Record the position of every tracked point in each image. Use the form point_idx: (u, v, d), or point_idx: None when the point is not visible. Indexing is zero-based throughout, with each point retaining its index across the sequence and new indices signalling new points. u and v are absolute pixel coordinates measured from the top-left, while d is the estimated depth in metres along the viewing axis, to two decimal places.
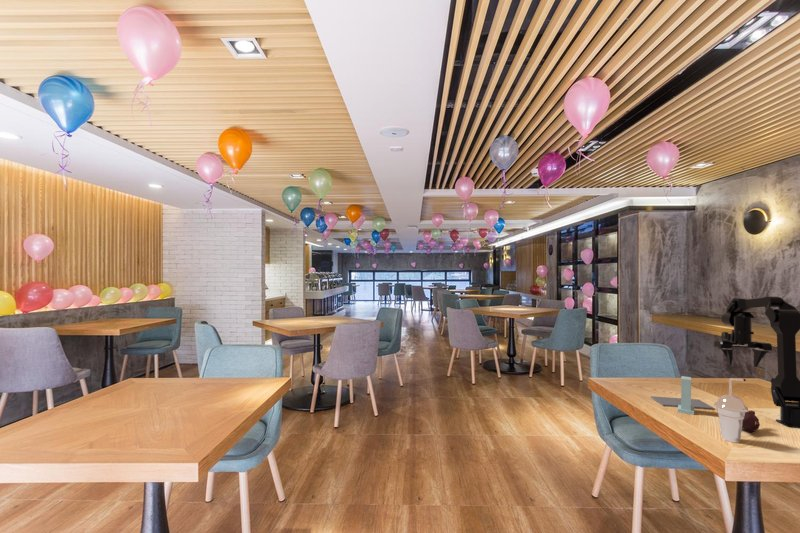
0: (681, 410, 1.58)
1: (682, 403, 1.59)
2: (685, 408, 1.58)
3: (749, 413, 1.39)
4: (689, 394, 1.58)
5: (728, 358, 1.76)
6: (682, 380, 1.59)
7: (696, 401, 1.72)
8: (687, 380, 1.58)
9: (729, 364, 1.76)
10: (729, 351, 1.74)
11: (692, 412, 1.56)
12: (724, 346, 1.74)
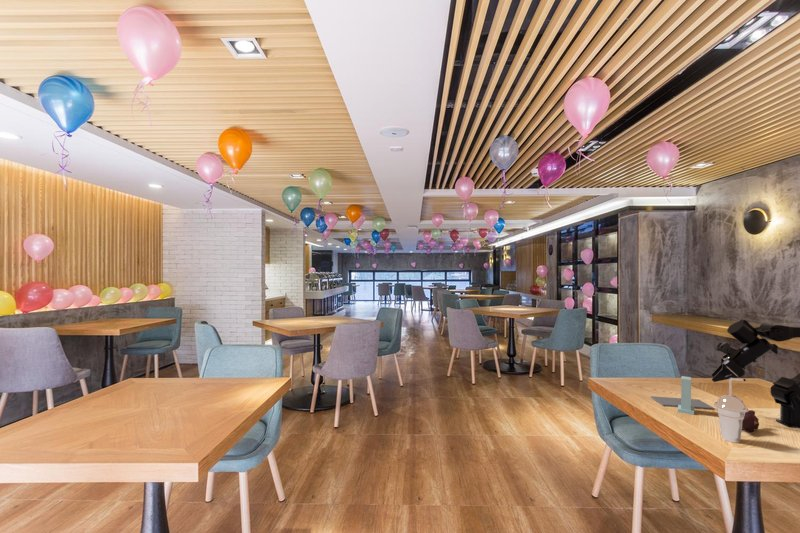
0: (681, 410, 1.58)
1: (682, 403, 1.59)
2: (685, 408, 1.58)
3: (749, 413, 1.40)
4: (689, 394, 1.58)
5: (722, 378, 1.50)
6: (682, 380, 1.59)
7: (696, 401, 1.72)
8: (687, 380, 1.58)
9: (714, 380, 1.52)
10: (735, 377, 1.48)
11: (692, 412, 1.56)
12: (741, 375, 1.45)
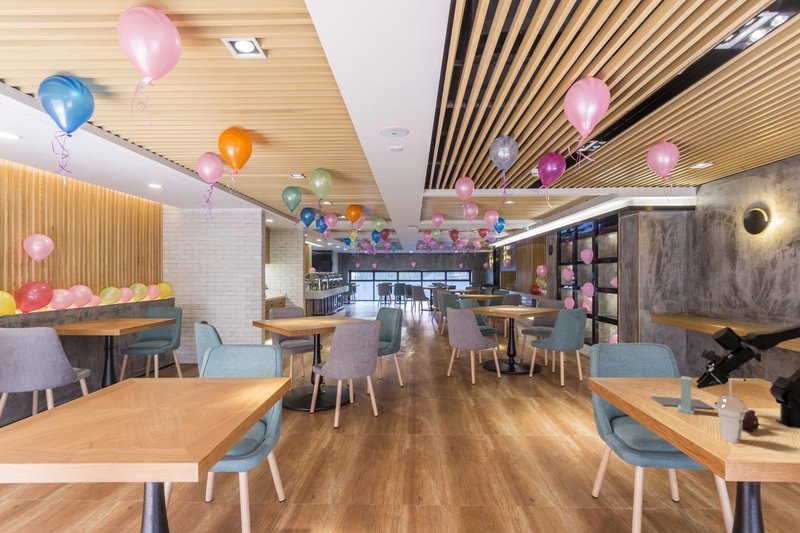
0: (681, 410, 1.58)
1: (682, 403, 1.59)
2: (685, 408, 1.58)
3: (748, 412, 1.40)
4: (689, 394, 1.58)
5: (706, 385, 1.52)
6: (682, 380, 1.59)
7: (696, 401, 1.72)
8: (687, 380, 1.58)
9: (698, 387, 1.54)
10: (719, 384, 1.50)
11: (692, 412, 1.56)
12: None
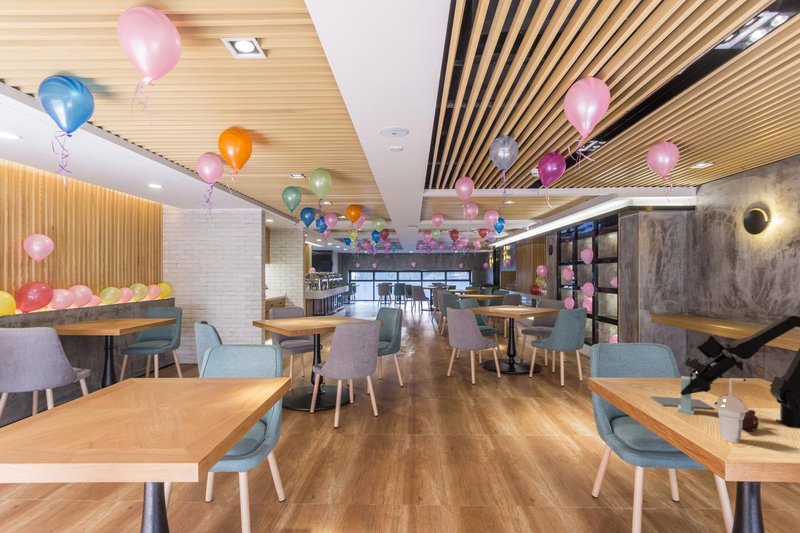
0: (681, 410, 1.58)
1: (682, 403, 1.59)
2: (685, 408, 1.58)
3: (748, 412, 1.40)
4: (689, 394, 1.58)
5: (690, 391, 1.56)
6: (682, 380, 1.59)
7: (696, 401, 1.72)
8: (687, 380, 1.58)
9: (682, 393, 1.58)
10: (702, 391, 1.54)
11: (692, 412, 1.56)
12: (707, 390, 1.50)
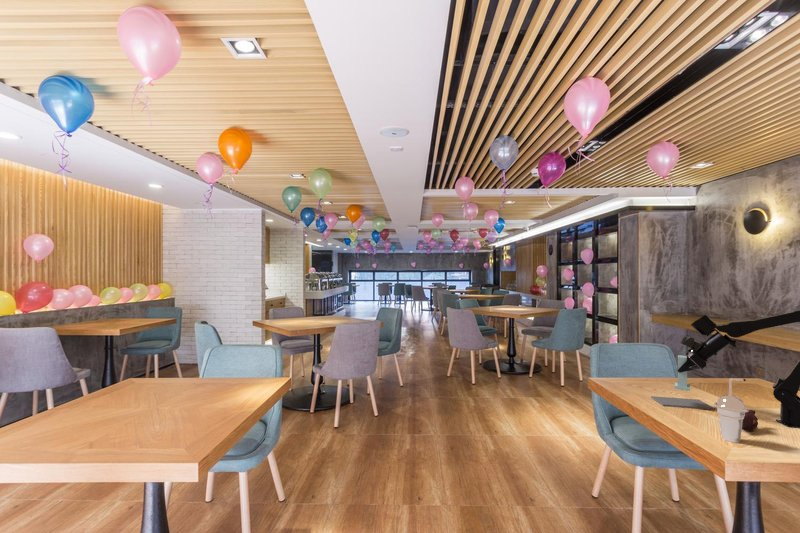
0: (678, 387, 1.65)
1: (679, 380, 1.66)
2: (681, 385, 1.65)
3: (748, 412, 1.41)
4: (685, 371, 1.65)
5: (686, 369, 1.64)
6: (679, 358, 1.66)
7: (696, 401, 1.72)
8: (683, 358, 1.65)
9: (679, 371, 1.66)
10: (698, 368, 1.61)
11: (688, 388, 1.64)
12: (703, 367, 1.57)
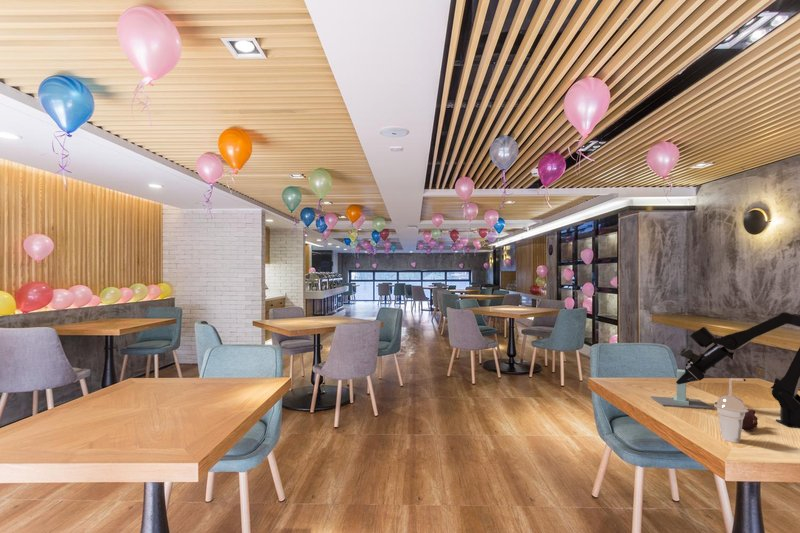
0: (677, 401, 1.68)
1: (677, 394, 1.69)
2: (680, 399, 1.68)
3: (747, 412, 1.41)
4: (684, 386, 1.68)
5: (685, 381, 1.66)
6: (677, 372, 1.69)
7: (696, 401, 1.72)
8: (682, 372, 1.68)
9: (678, 383, 1.68)
10: (696, 380, 1.63)
11: (687, 402, 1.66)
12: (701, 379, 1.60)
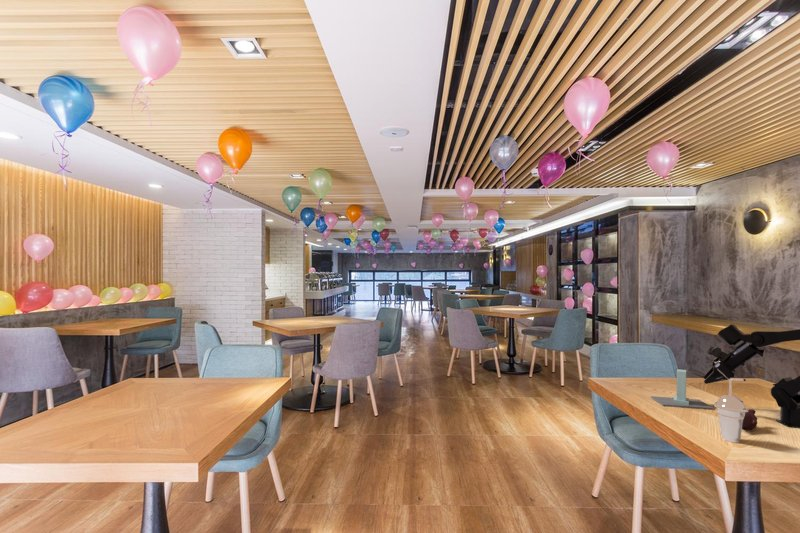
0: (677, 401, 1.68)
1: (677, 394, 1.69)
2: (680, 399, 1.68)
3: None
4: (684, 386, 1.68)
5: (713, 380, 1.60)
6: (677, 372, 1.69)
7: (696, 401, 1.72)
8: (682, 372, 1.68)
9: (705, 382, 1.62)
10: (725, 379, 1.58)
11: (687, 402, 1.66)
12: None
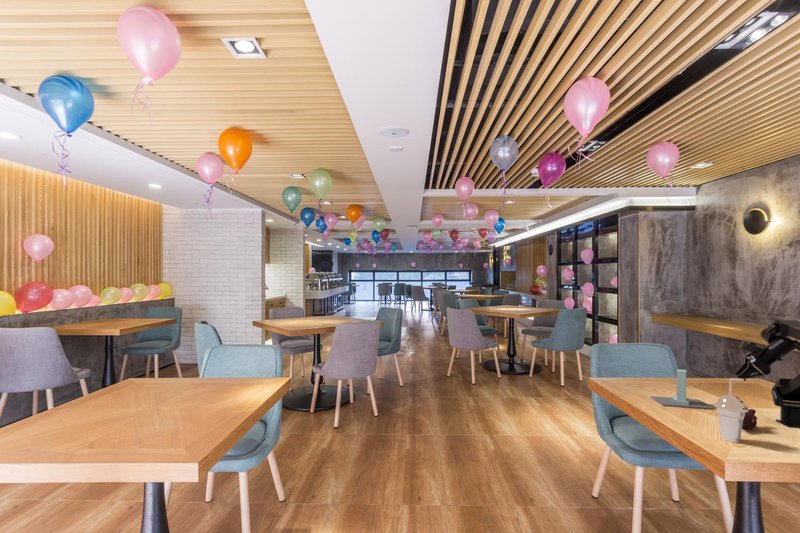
0: (677, 401, 1.68)
1: (677, 394, 1.69)
2: (680, 399, 1.68)
3: None
4: (684, 386, 1.68)
5: (748, 376, 1.54)
6: (677, 372, 1.69)
7: (696, 401, 1.72)
8: (682, 372, 1.68)
9: None
10: (761, 375, 1.51)
11: (687, 402, 1.66)
12: (767, 373, 1.49)
